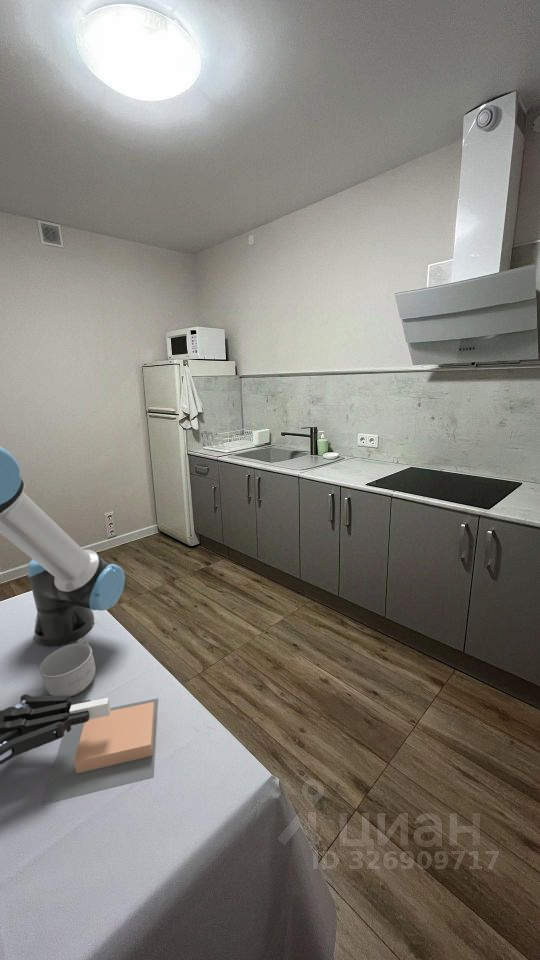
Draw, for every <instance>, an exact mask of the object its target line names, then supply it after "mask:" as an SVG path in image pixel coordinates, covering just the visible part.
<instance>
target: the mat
mask: <svg viewBox="0 0 540 960" xmlns="http://www.w3.org/2000/svg"><path fill="white" fill-rule="evenodd" d="M151 702H154V707H155V724H154V740H153V755H152V756H150V757H146V758H142V759H138V760H133V761H129V762H125V763H121V764H116V765H112V766H108V767H104V768H99V769H95V770H91V771H87V772H82V773H76V769H75V765H74V760H75V756H76V752H77V749H78V745H79V741H80V737H81V734H82V730H83V726H84V723H81V724H76V725H72V726H71V730H70V731H69V732H67V730H65V732H64V736H63V737H62V738H61V740H60V744H59V748H58V750H57V753H56V757H55V759H54V763H53V767H52V769H51V773H50V776H49V780H48V782H47V785H46V788H45V792H44V795H43V798H42V801H41V806H42V805H47V804H50V803H55V802H59V801H63V800H67V799H71V798H77V797H80V796H83V795H87V794H92V793H96V792H99V791H103V790H108V789H111V788H116V787H120V786H124V785H128V784H131V783H136V782H140V781H145V780H148V779H153V778H154V777H155V776H154V775H155V761H156V741H157V725H158V710H159V708H158V707H159V697H158V698H157V697H156V698H153V699H148V700H143V701H142V700H141V701H139V702H133V703H128V704H123V705H119V706H115V707H111V711H113V710H117V709H122V708H127V707H132V706H136V705H141V704H146V703H151Z"/></svg>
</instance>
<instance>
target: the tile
mask: <svg viewBox="0 0 540 960" xmlns="http://www.w3.org/2000/svg"><path fill="white" fill-rule="evenodd" d="M154 724H155V707H154V702H151V703H146V704H141V705H136V706H132V707H127V708H122V709H117V710H113V711H110V715H109V716H104V717H100V718H95V719H91V720H89V721H87V722H85V723H84V726H83V730H82V734H81V737H80V741H79V745H78V749H77V752H76V756H75V760H74V765H75V769H76V773H82V772H87V771H91V770H95V769H99V768H104V767H108V766H112V765H116V764H121V763H125V762H129V761H133V760H138V759H142V758H146V757H150V756H152V755H153V740H154Z"/></svg>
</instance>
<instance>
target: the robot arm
mask: <svg viewBox="0 0 540 960" xmlns="http://www.w3.org/2000/svg"><path fill="white" fill-rule="evenodd" d="M20 472H21V467H20V465H19V463H18V461H17V460H16V458H15V457H14V455H12V453H10V452H9V451H8V450H6V449H5V448H3V447H2V446H0V534H1V535H2V536H3V537H4V538H5V539H7V540H8V541H9V542H11V544H13V545H15V547H17V548H18V549H19V550H21V551H22V552H23V553H24V554H26V555H27V556H28V557H29V558H31V560H30V561H29V563H28V564H27V578H29V582H30V587H31V591H32V596H33V599H34V603H35V609H36V616H35V622H34V623H35V624H34V633H33V634H34V637H35V641H36V642H37V643H38V644H39V645H42V646H47V647H51V646H61V645H65V644H68V643H71V642H74V641H75V640H79V639H80V638H82V637H84V635H86V634H87V633H88V632H89V631H90V630H91V629H92V628H93V627H92V625H93V623H94V624H95V622H94V620H95V615H94V612H93V611H106V610H108V609H110V608H112V607H113V606H115V604H116V603H117V602H118V600H119V599H120V597H121V595H122V593H123V591H124V588H125V582H126V581H125V580H126V577H125V572H124V570H123V568H122V567H121V566H119V565H117V564H115V563H108V562H106V561H105V560H104V559H102V557H101V556H99V554H98V553H97V552H95V551H94V550H93V549H92V550H91V549H83V548H82V547H81V546H80V545H79V544H78V543H77V542H76V541H74V539H73V538H72V537H70V536H69V534H67V533H66V532H65V531H64V530H63V529H62V528H61V527H60V525H58V524H57V523H56V522H55V521H54V520H53V519H52V518H51V517H50V516H49V515H48V514H47V513H46V512H45V511H44V510H43V509H41V507H40V506H38V504H36V502H34V500H33V499H31V498H30V497H29V496H28V495H27V493H25V489H26V487H25V486H26V484H25V481H24V480H23V479H22V476H21V475H20ZM93 626H94V625H93ZM91 627H92V628H91ZM90 628H91V629H90ZM89 629H90V630H89ZM88 630H89V631H88ZM87 631H88V632H87ZM86 632H87V633H86ZM85 633H86V634H85ZM71 697H72V696H70V695H62V696H52V695H43V696H41V695H38V696H36V695H35V696H32V695H29V694H22V695H21V696H20V698H19V699H20V700H19V702H18V703H17V704H16V705H14V706H8V707H6V708H5V709H2V710H0V765H3V764H5V763H6V762H7V761H9V760H11V759H12V758H14V757H16V756H19V755H21V754H23V753H26V752H29V751H31V750H34V749H37V748H39V747H42V746H44V745H47V744H49V743H52V742H55V741H57V740H60V739H62V737H63V736H64V732H65V730H67V732H69V731H70V730H71V726H72V725H76V724H81V723H85V722H87V721H89V720H91V719H95V718H100V717H104V716H109V715H110V711H111V708H112V707H111V702H110V698H109V697H104V698H100V699H94V700H91V699H88V700H82V701H78V702H73V701H72V698H71Z"/></svg>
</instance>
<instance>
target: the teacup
mask: <svg viewBox="0 0 540 960" xmlns="http://www.w3.org/2000/svg"><path fill="white" fill-rule="evenodd" d="M39 665H40V666H39V673H40V675H41V678H42V680H43V683H44V687H45V688H46V690H47V692H48V693H49V694H50V696H62V695H70V697H73V696H75V695H78V694H79V693H82V692H83V691H84V690H85V689H86V688H88V686H89V685H90V684H91V683H92V681H93V680H94V678H95V675H96V663H95V657H94V654H93V649H92V647H91V646H90V644H89V639H88V638H86V637H80V638H78V639H77V642H76V643H70V644H67V645H63V646H62V647H60V648H57V649H55V650H53V651H52V652H51V653H50V654H48V655H47V656H46V657H45V658H44V659H43V660H42V661H41V663H40V664H39Z"/></svg>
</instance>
